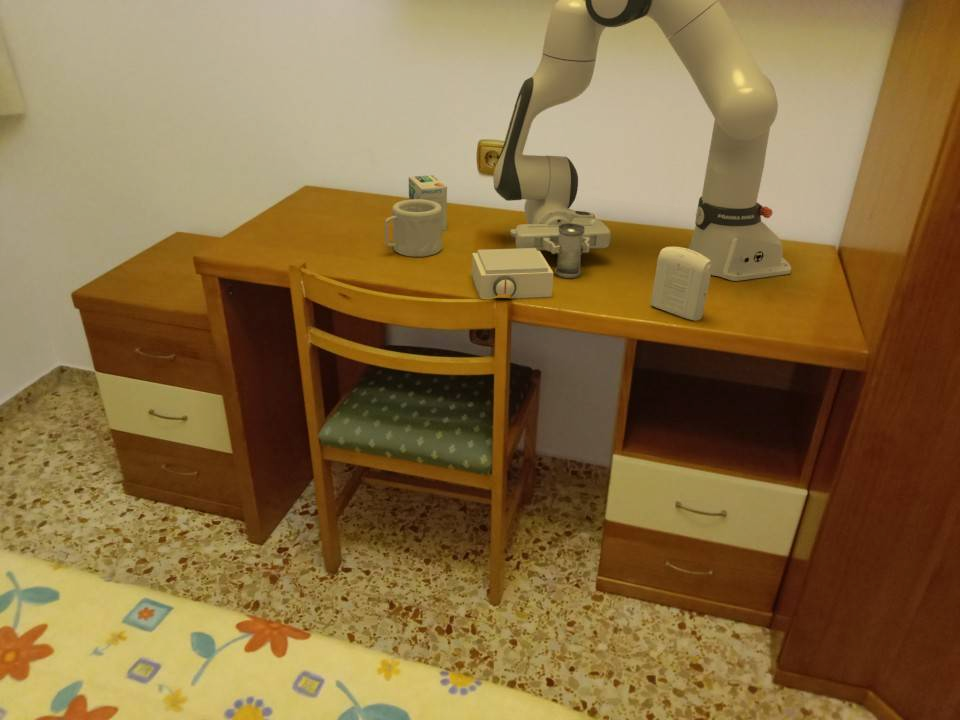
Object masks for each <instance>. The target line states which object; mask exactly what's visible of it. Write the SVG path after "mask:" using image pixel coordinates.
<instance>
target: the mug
mask: <svg viewBox="0 0 960 720" xmlns="http://www.w3.org/2000/svg"><path fill="white" fill-rule="evenodd" d="M391 211H392V213H391V215H392V216H389V217H387V218H386V219H385V221H384V241H385V242H384V243H385V245H386V246H387V247H388V248H389V247H391V248H393V250H394V251H395V252H396V253H398V254H399V255H401V256H405V257H412V258H422V257H431V256H433V255H436V254H438V253H439V252H440V251H441V250H442V247H443V231H442V207H441V205H440V204H438V203H436V202H434V201H430V200H423V199H411V200H409V199H405V200H399V201H397V202H396V203H394V204H393V206H392V209H391ZM391 221H392V240H393V241H392V242H393V243H390V242H389V240H390V239H389V222H391Z"/></svg>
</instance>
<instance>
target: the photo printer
mask: <svg viewBox="0 0 960 720" xmlns="http://www.w3.org/2000/svg"><path fill="white" fill-rule="evenodd" d="M656 261H657V263H656V268H655V274H654V275H655V276H654V281H653V288H652V293H651V299H650V306H652V307H655V308H656V309H659V310H662V311H665V312H667V313H670V314H673V315H675V316H677V317H681V318H684V319H687V320H691V321H694V322H695V321H700V320H701V319H702V317H703V314H704V310H705V306H706V301H707V297H708V290H709V286H710V281H711V276H712V275H711V271H712V262H711V261H710V260H709V259H708V258H707V257H705V256H703V255H702V254H700V253H698V252H695V251H693V250H690V249H688V248H687V247H682V246H665V247H664V248H662V249H660V251H659V254H658V256H657V260H656Z"/></svg>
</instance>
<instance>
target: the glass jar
mask: <svg viewBox="0 0 960 720" xmlns="http://www.w3.org/2000/svg"><path fill="white" fill-rule="evenodd" d="M584 230H585V228H584V226H582V225H579V224H573V223H566V224H561V225H560V226H559V245H560V250H559V251H560V253H559V254H557V259H556V267H555V272H554V273H555V275H556V276H557V277H559V278H563V279H576V278H579V277H580V276H581V272H582V271H581V260H582V253H581V252H582V241H583V233H584Z"/></svg>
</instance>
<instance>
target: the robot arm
mask: <svg viewBox="0 0 960 720" xmlns="http://www.w3.org/2000/svg"><path fill="white" fill-rule="evenodd" d="M644 17H648V18H650V19H652V20H653V22H655V23H656V25H657V26H658V27H659V29H660V30H661V31H662V34H663V35H664V36H665V38H666V40H667V41H668V42H669V44H670V46H671V47H672V49H673V50H674V52H675V53H676V55H677V57H678V58H679V59H680V61H681V63H682V64H683V66H684V67H685V69H686V71H688V74H689V76H690V77H691V79H692V80H693V83H694V84H695V86H696V87H697V89H698V91H699V93H700V95H701V97H702V98H703V100H704V102H705V104H706V106H707V107H708V109H709V111H710V112H711V114H712V116H713V118H714V122H713V126H712V127H713V128H712V134H711V140H710V146H709V150H708V158H707V162H706V163H707V164H706V168H705V169H706V170H705V175H704V180H703V187H702V193H701V196H700V197H699V198H698V199H699V200H698V203H697V209H696V213H695V225H694V230H693V234H692V238H691V240H690V244H689V246H688V248H687V249H690V250H693V251H695V252H698V253H700V254H702V255H703V256H705V257H707V258H708V259H709V260H710V261H711V262H712V271H711V276H716V277H720V278H722V279H725V280H729V281H734V282H739V281H744V280H745V281H746V280H752V279H753V280H754V279H760V278H761V279H762V278H767V277H777V276H783V275H785V276H786V275H789V274H791V271H792V265H791V264H790V263H789V262H788V261H787V260H786V259H785V257H783V251H784V250H783V243H782V240H781V239H780V238H779V236H777V235H776V233H774V232H773V231H772V230H771V229H770V227H768V226H767V225H766V224H765V223H764V222H763V220H762V217H764V218H765V219H769V218H771V217H772V216H773V214H774V213H773V210H772V208H769V207H768V206H763V205H761V204H760V203H759V202H757V201H758V197H759V192H760V187H761V182H762V177H763V172H764V167H765V162H766V155H767V148H768V142H769V141H768V140H769V136H770V132H771V131H770V130H771V127H772V126H773V124H774V122H775V121H776V118H777V115H778V109H779V103H778V98H777V93H776V89H775V87H774V84H773V82H772V81H771V79H770V78H768V76H766V75H765V74H764V73H763V72H762V70H761V68H760V66H759V65H758V63H757V62H756V60H755V58H754V57H753V55H752V53H751V51H750V50H749V48H748V46H747V43H745V41H744V40H743V37H742V36H741V34H740V32H739V30H738V29H737V27H736V26H735V25H734V23H733V21H732V19H731V18H730V16H729V15H728V13H727V12H726V10H725V8H724V7H723V5H722V4H721V2H720V0H557V1H556V3H555V4H554V5H553V7H552V11H551V13H550V16H549V19H548V20H549V21H548V24H547V26H546V27H547V28H546V31H545V36H544V41H543V45H542V46H543V47H542V53H541V54H542V55H541V59H540V63H539V64H538V67H537V68H536V70H535V71H534V74H532V76H531V77H529V78H527V79H525V80H524V82H523V83H522V85H521V88H520V89H519V91H518V96H517V97H516V100H515V104H514V108H513V111H512V114H511V117H510V120H509V124H508V129H507V132H506V135H505V139H504V142H503V146H502V149H501V151H500V153H499V156H498V159H497V163H496V165H495V168H494V170H493V176H492V177H493V178H492V179H493V189H494V190H495V192H496V193H497V194H498V195H499V197H501V198H503V199H504V200H505V201H507V202H509V201H511V202H512V201H521V200H525V203H524V207H523V209H524V214H525V219H526V221H527V223H524V224H523V223H522V224H517V225H516V227H515V228H510V231H509V232H510V235H511V237H514V238H515V239H514V240H515V241H514V242H515V247H516V249H520V248H536V249H537V251H547V252H549V253H550V252H551V254H552V255H556V254H557V255H558V254H559V253H560V251H559V250H560V245H559V226H560V225H561V224H566V223H573V224H579V225H582V226H584V228H585V230H584V233H583V241H582V252H581V254H584V253H585V254H587V253H589V252H590V249H607V248H608V247H610V243H611V237H612V234H611V230H610V228H608V226H607V225H606V224H605V223H604V222H603V221H601V220H600V219H597V218H596V215H595V213H593V212H589V211H583V210H582V211H580V210H574V209H571V206H572V205H573V203H574V202H575V200H576V198H577V194H578V189H579V176H578V172H577V169H576V167H575V164H574V163H573V162H572V160H571V159H570V158H568V157H567V156H559V155H534V154H533V155H530V154H524V150H525V147H526V142H527V140H528V137H529V133H530V129H531V126H532V124H533V121H534V119H536V117H538V115H539V114H541V113H542V112H545V111H547V110H548V109H550V108H552V107H555V106H559V105H561V104H565V103H568V102H570V101H572V100H574V99H576V98H578V97H579V96H580V95H582V94H584V92H585V91H586V90H587V88H589V86H590V84H591V82H592V79H593V76H594V70H595V66H596V60H597V59H596V58H597V53H598V48H599V43H600V38H601V36H602V34H603V32H604V30H605V29H606V28H618V27H622V26H625V25H627V24H630V23H632V22H634V21H637V20H639V19H641V18H644ZM761 216H762V217H761Z"/></svg>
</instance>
